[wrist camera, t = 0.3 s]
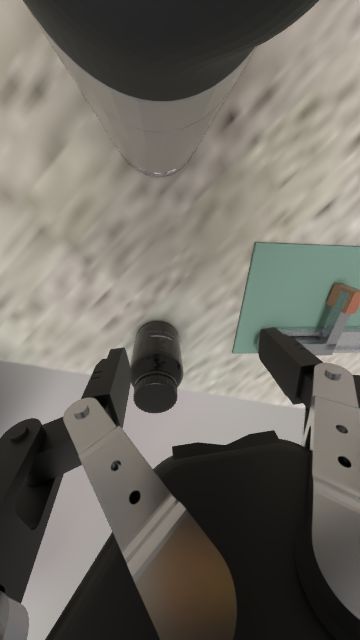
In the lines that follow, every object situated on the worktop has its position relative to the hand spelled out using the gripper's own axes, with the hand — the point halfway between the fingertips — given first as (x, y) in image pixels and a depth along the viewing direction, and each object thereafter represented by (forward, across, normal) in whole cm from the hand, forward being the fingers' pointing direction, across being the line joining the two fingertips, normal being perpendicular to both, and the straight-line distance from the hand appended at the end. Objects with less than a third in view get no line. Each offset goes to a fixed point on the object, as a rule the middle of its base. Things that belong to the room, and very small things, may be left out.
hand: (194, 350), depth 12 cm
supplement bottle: (+18, +4, +10) cm, 21 cm away
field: (+18, -31, +8) cm, 37 cm away
